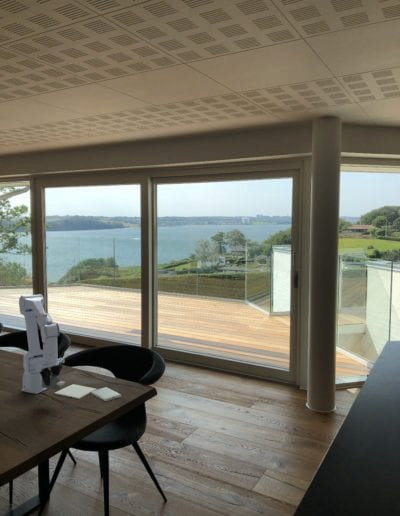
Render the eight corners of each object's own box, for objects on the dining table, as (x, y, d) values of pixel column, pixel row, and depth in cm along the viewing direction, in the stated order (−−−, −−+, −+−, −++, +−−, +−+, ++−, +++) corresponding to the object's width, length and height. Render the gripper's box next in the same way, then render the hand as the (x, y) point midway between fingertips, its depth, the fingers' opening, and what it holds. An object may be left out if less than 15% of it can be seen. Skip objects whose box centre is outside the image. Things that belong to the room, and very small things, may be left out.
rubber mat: (54, 393, 193) (54, 392, 193) (73, 385, 204) (73, 384, 203) (78, 399, 187) (78, 397, 187) (96, 390, 198) (96, 388, 198)
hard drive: (90, 391, 193) (105, 398, 184) (106, 386, 199) (121, 393, 190) (90, 395, 193) (105, 402, 184) (106, 390, 199) (121, 397, 190)
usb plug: (39, 386, 182) (39, 375, 182) (46, 383, 186) (46, 372, 186) (59, 391, 178) (59, 379, 177) (66, 388, 181) (66, 376, 181)
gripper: (44, 357, 173) (45, 390, 174) (69, 349, 186) (70, 379, 187) (31, 355, 176) (32, 388, 177) (57, 347, 189) (58, 377, 190)
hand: (51, 383), depth 182 cm, fingers closed on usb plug, 4 cm apart
